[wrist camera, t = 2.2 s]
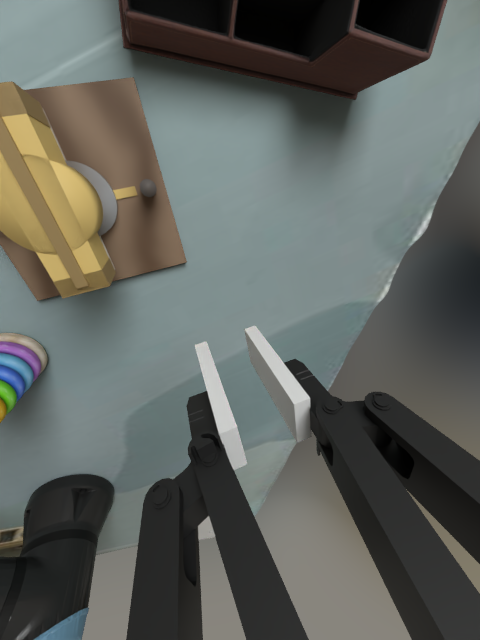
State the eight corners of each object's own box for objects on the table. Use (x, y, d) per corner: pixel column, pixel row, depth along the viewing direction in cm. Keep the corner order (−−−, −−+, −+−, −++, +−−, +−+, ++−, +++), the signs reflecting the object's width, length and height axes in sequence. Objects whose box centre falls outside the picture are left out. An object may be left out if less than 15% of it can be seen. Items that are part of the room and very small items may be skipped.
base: (40, 297, 33) (11, 326, 26) (-84, 106, 23) (-186, 71, 16) (185, 260, 37) (193, 277, 30) (134, 81, 27) (127, 42, 20)
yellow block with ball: (129, 268, 27) (125, 282, 23) (60, 286, 26) (44, 304, 22) (59, 100, 20) (35, 77, 16) (-41, 112, 18) (-96, 90, 14)
